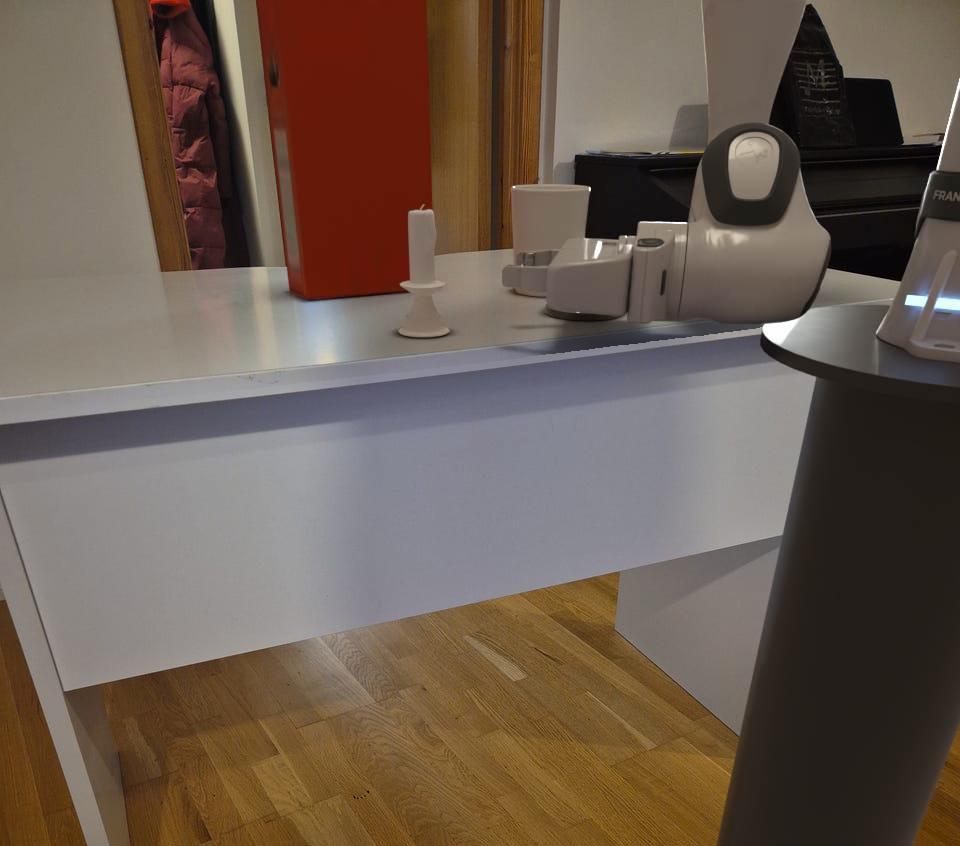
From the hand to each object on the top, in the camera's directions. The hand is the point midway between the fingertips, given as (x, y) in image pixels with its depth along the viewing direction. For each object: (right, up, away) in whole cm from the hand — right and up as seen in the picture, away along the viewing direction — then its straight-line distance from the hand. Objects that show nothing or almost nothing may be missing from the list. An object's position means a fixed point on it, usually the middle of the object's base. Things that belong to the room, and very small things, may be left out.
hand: (510, 268), depth 83 cm
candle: (-9, -5, +5) cm, 11 cm away
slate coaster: (+9, +1, +14) cm, 16 cm away
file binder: (-18, +9, +26) cm, 33 cm away
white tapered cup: (+6, +8, +26) cm, 28 cm away
